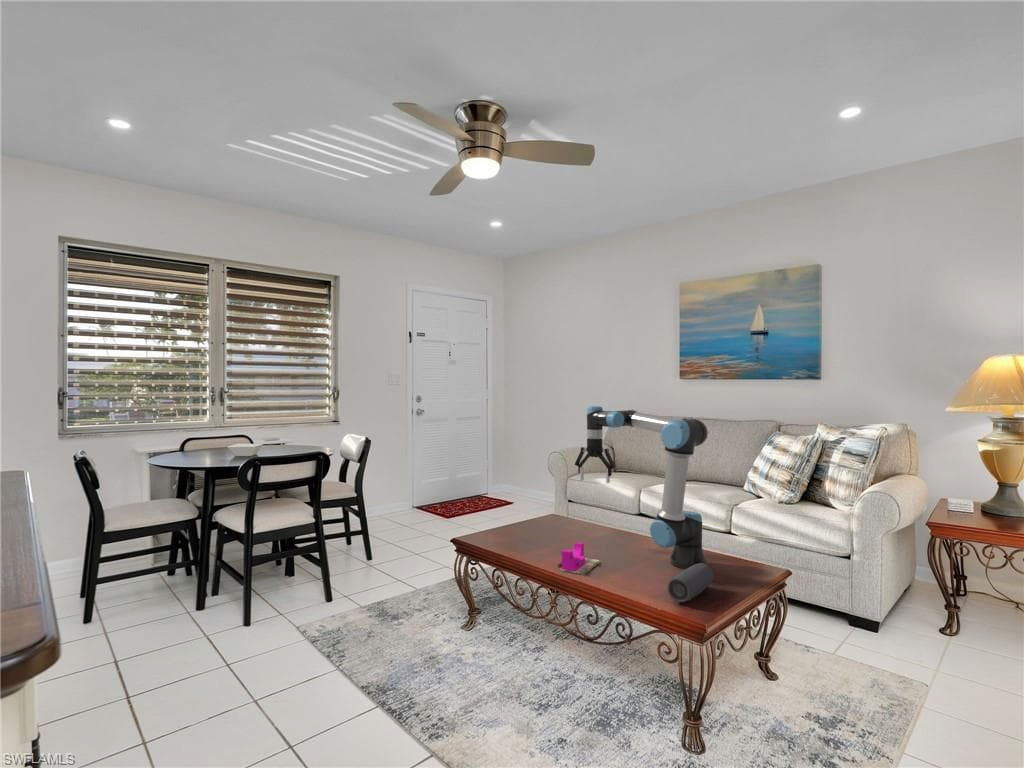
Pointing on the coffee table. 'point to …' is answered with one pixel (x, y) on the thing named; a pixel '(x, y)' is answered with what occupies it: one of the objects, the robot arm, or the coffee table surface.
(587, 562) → the board
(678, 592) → the bluetooth speaker
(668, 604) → the coffee table surface
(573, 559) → the toy block
